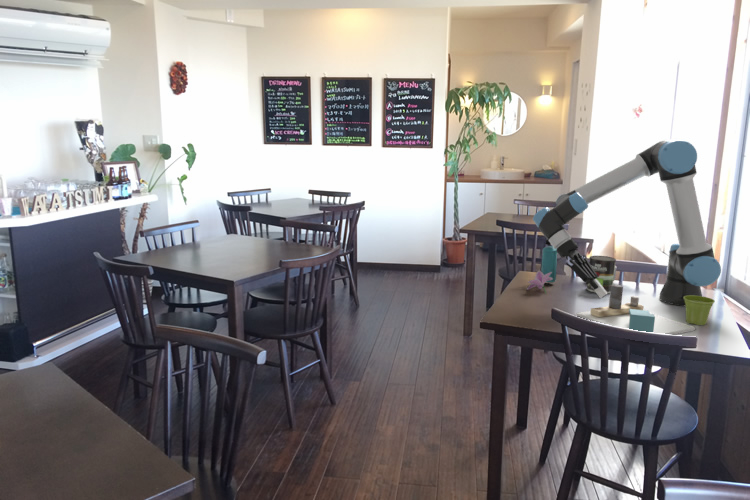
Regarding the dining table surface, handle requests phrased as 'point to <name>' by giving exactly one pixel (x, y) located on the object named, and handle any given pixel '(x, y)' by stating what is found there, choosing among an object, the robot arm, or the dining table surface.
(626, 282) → the dining table surface
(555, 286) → the dining table surface
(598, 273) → the coffee can
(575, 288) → the dining table surface
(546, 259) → the beverage bottle
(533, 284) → the lily
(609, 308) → the link
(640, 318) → the block
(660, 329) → the base board
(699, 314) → the plant pot
